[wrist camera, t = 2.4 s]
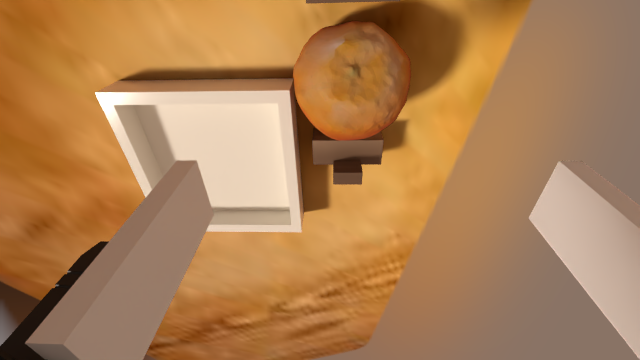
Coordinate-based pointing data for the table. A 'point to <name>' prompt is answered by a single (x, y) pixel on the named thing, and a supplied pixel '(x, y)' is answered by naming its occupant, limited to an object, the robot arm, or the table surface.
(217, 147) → the dish
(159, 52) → the table surface
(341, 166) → the block
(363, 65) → the fruit
